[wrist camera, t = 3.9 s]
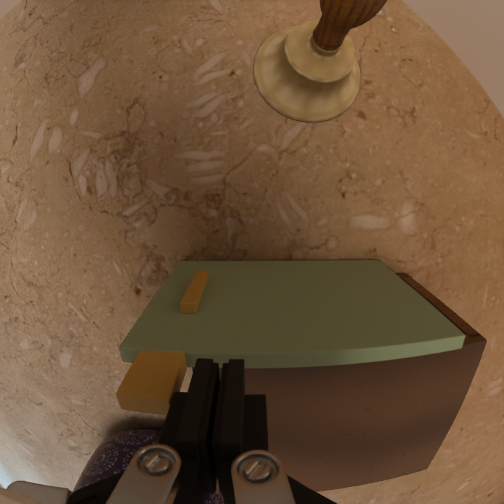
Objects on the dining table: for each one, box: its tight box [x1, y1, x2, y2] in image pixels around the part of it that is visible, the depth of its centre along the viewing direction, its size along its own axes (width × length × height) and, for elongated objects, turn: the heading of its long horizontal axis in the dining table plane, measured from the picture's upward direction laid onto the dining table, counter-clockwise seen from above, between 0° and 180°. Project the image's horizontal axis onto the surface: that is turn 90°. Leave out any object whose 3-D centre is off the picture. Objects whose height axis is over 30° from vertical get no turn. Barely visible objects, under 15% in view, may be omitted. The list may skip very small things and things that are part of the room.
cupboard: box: [192, 273, 487, 494], centre depth 21 cm, size 12×16×12 cm
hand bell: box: [253, 0, 387, 122], centre depth 13 cm, size 8×8×16 cm
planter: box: [73, 429, 224, 504], centre depth 24 cm, size 17×16×15 cm
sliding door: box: [116, 260, 465, 415], centre depth 17 cm, size 1×16×16 cm, turn 90°
